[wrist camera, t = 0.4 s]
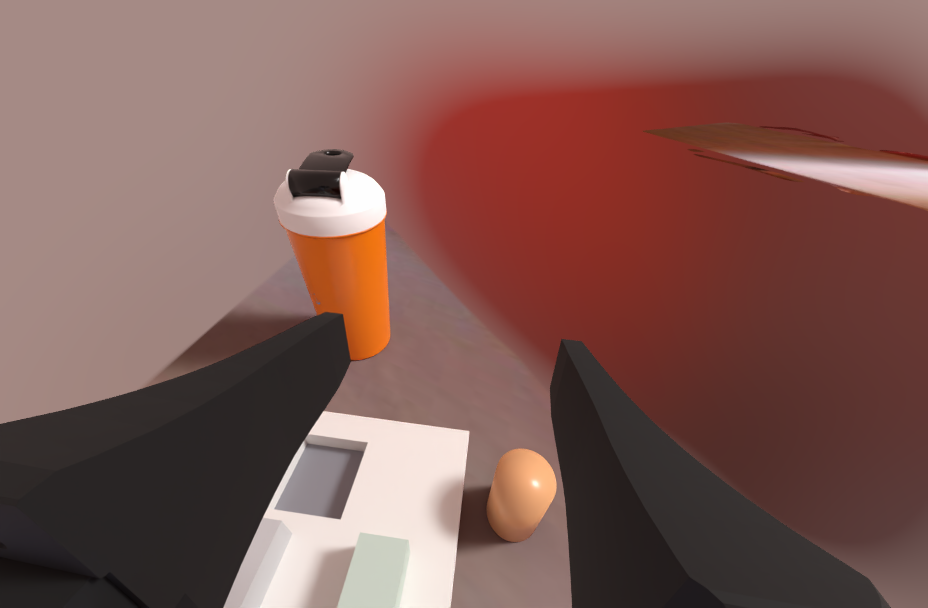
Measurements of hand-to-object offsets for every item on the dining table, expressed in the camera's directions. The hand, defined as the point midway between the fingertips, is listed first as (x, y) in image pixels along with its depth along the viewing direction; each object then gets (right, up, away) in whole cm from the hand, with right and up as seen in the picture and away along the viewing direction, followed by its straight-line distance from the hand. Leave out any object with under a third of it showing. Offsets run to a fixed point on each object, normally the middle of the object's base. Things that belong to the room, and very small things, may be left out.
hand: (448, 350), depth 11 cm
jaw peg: (+4, -15, +15) cm, 21 cm away
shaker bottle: (-12, -3, +28) cm, 30 cm away
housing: (-8, -15, +13) cm, 21 cm away
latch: (-5, -16, +8) cm, 19 cm away
